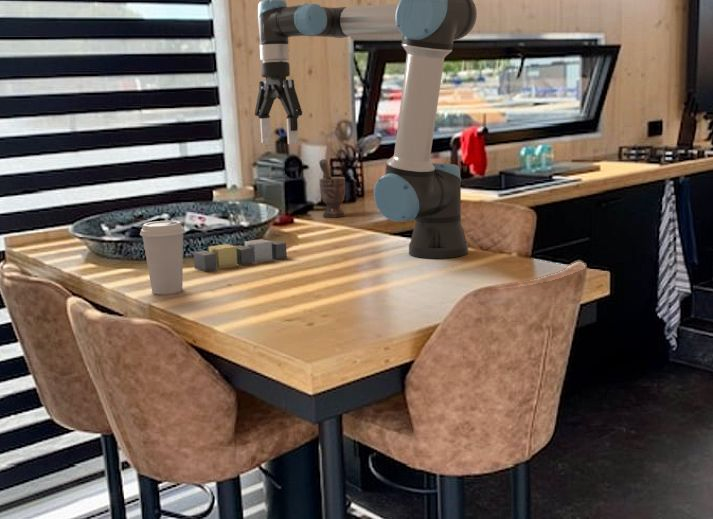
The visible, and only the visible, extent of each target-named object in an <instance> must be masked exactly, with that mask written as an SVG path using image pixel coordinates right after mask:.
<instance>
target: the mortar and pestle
mask: <svg viewBox="0 0 713 519" xmlns="http://www.w3.org/2000/svg"><path fill="white" fill-rule="evenodd" d="M319 168H320V170H321V171H322V173H323V176H324V177H322V178H319V192H320V196H321V199H322V202H323V203H324V204H325V205H326V209H325V211H324V213H323V214H322V216H323V217H324V218H330V219H334V218H335V219H336V218H342V217H345V216H346V213H345V211H344V209H342V207H341V204H342V203H343V201H345V195H346V178H345V177H344V176H332V175H331V174H332V173H331V170H330V164H329V162H328V160H327V159H326V158H325V159H323V158H322V159H321V160H319Z"/></svg>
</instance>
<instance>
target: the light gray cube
mask: <svg viewBox="0 0 713 519" xmlns="http://www.w3.org/2000/svg"><path fill="white" fill-rule="evenodd" d="M271 241H272V240H266V239H263V238H260V239H254V240H248V241H247V240H246V241H244V246H245V247H249V248H252V261H253V263H254V264H258V263H265V262H270V261H271V262H272V261H273V259H272V244H271Z"/></svg>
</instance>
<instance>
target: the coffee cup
mask: <svg viewBox="0 0 713 519" xmlns="http://www.w3.org/2000/svg"><path fill="white" fill-rule="evenodd" d="M185 232H186V230H185V228H184V226H183V225H182V222H181V221H178V220H160V221H159V220H158V221H157V220H156V221H151V222H145V223H144V224H143V225H142V228H141V229H140V233H139V235H140V236H141V237H142V241H143V242H142V243H143V248H144V252H145V257H146V264H147V271H148V274H149V281H150V287H151V293H152V294H154V295H159V296H160V295H163V296H164V295H165V296H166V295H173V294H177V293H180V292H182V291H183V286H184V285H183V278H184V277H183V275H184V274H183V272H184V271H183V267H184V266H183V264H184V262H183V261H184V233H185Z"/></svg>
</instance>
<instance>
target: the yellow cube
mask: <svg viewBox="0 0 713 519" xmlns="http://www.w3.org/2000/svg"><path fill="white" fill-rule="evenodd" d="M236 246H237V245H232V244H228V243H226V244H218V245H212V246H208V252H211V253H215V254H216V268H217V270H218V269H219V270H221V269H227V268H228V269H229V268H234V267H238V264H237V252H236Z"/></svg>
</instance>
